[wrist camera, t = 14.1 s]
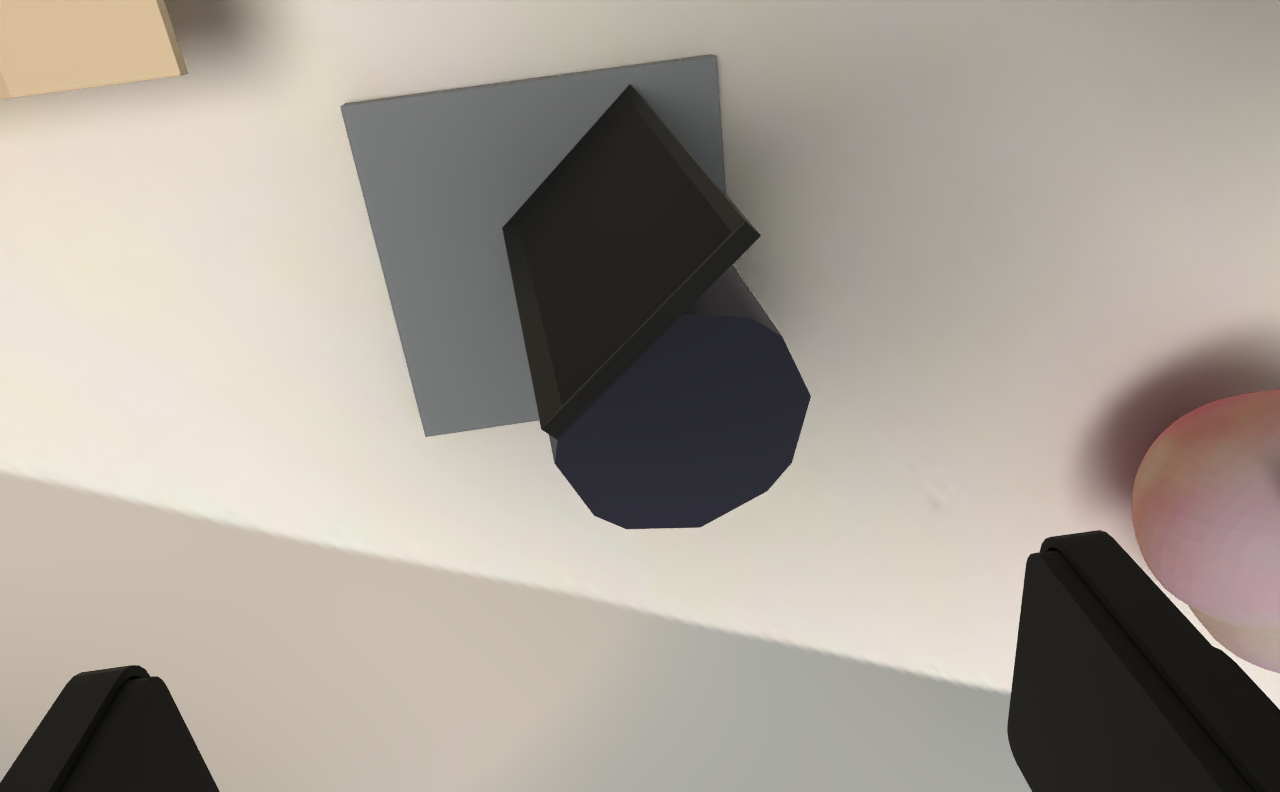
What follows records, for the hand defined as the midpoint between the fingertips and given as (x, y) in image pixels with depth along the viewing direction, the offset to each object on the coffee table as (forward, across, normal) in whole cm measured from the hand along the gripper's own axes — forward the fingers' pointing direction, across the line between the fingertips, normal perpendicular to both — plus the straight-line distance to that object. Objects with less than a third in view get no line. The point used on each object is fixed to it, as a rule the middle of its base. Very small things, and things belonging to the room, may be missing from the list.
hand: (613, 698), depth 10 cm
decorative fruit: (+18, -20, +11) cm, 29 cm away
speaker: (+18, -2, +1) cm, 18 cm away
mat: (+18, +1, +1) cm, 18 cm away
